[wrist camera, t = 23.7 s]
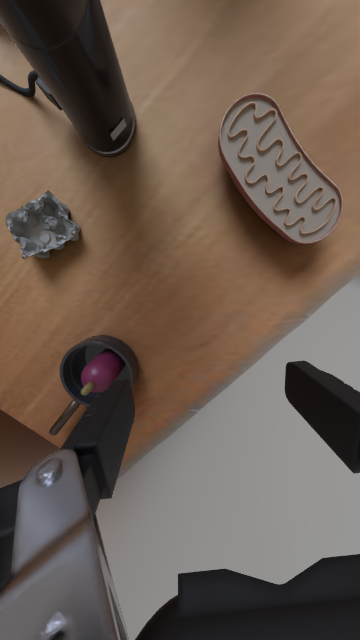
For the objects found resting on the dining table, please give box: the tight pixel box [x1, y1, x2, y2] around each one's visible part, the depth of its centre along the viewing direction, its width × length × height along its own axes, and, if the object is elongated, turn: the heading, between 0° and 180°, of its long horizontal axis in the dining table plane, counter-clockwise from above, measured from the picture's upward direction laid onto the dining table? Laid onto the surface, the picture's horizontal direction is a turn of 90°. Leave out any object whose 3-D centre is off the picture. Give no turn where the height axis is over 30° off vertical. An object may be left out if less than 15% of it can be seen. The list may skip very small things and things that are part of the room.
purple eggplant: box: [81, 350, 124, 396], centre depth 32 cm, size 6×6×11 cm
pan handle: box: [49, 399, 81, 435], centre depth 38 cm, size 12×2×2 cm, turn 141°
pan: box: [60, 335, 138, 407], centre depth 36 cm, size 14×14×4 cm
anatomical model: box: [218, 93, 343, 245], centre depth 28 cm, size 23×10×5 cm, turn 45°
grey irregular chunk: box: [6, 191, 80, 259], centre depth 31 cm, size 11×8×4 cm
